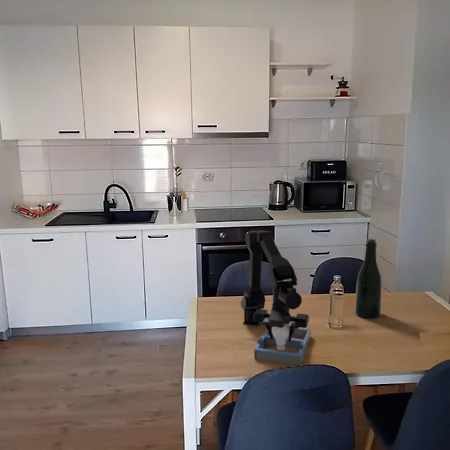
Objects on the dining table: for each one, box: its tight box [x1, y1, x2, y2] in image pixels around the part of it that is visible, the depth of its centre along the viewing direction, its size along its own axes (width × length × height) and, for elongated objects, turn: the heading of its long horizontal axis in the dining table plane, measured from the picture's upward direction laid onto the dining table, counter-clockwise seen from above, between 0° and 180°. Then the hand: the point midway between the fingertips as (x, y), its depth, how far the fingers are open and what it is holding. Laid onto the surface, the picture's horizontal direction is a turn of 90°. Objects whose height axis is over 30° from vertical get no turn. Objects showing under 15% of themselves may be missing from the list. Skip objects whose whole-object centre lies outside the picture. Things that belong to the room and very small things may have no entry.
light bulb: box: [272, 324, 290, 351], centre depth 160 cm, size 7×7×11 cm
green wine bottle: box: [354, 238, 383, 320], centre depth 191 cm, size 10×10×33 cm
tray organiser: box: [253, 327, 312, 366], centre depth 166 cm, size 16×23×5 cm
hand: (280, 340), depth 160 cm, fingers closed on light bulb, 6 cm apart
